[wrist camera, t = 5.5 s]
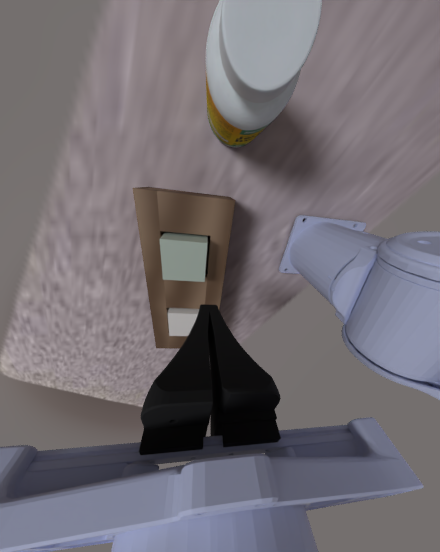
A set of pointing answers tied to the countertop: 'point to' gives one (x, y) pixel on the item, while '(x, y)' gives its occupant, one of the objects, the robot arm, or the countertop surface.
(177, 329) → the off white key
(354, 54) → the countertop surface
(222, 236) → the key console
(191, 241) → the sage key
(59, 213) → the countertop surface
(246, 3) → the supplement bottle
